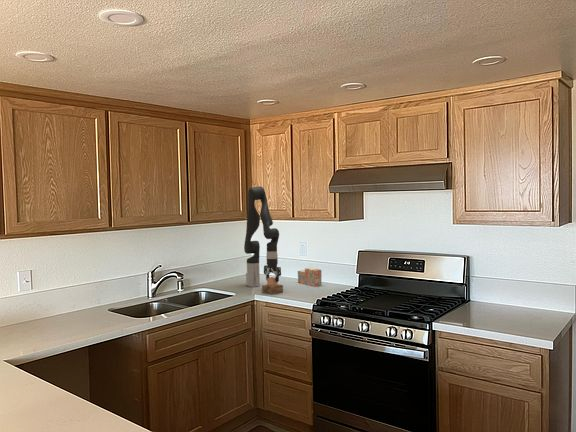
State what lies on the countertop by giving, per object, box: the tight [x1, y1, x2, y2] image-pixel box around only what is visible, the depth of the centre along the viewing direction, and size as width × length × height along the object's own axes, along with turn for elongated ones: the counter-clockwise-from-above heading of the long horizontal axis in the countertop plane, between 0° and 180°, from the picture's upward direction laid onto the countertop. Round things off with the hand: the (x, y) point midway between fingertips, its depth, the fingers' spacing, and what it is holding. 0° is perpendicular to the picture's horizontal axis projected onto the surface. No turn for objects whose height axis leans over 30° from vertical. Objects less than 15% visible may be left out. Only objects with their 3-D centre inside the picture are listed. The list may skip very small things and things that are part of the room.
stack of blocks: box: [297, 267, 322, 288], centre depth 360 cm, size 21×6×12 cm, turn 34°
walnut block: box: [261, 283, 284, 296], centre depth 332 cm, size 10×10×5 cm
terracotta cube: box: [266, 277, 279, 286], centre depth 332 cm, size 5×5×5 cm
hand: (272, 281), depth 332 cm, fingers open, 8 cm apart
